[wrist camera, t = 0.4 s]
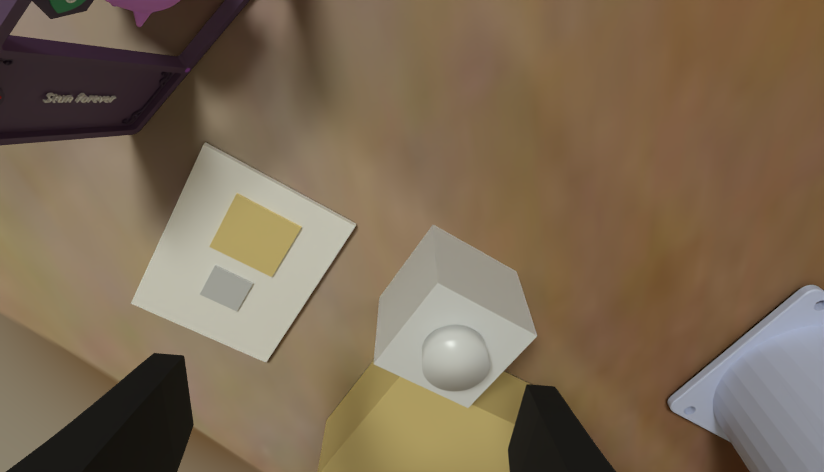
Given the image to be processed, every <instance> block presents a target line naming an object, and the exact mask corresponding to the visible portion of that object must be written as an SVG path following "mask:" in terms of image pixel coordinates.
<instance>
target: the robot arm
mask: <svg viewBox="0 0 824 472" xmlns="http://www.w3.org/2000/svg"><path fill="white" fill-rule="evenodd" d="M817 302H819V303H817ZM816 303H817V304H816ZM667 403H668V406H669V407H670V409H671V410H672V411H673V412H674V413H676V414H678V415H680V416H682V417H684V418H685V419H687V420H689V421H691V422H693V423H695V424H697V425H699V426H701V427H702V428H704V429H706V430H708V431H710V432H712V433H714V434H716V435H718V436H720V437H721V438H723V439H725V440H727V441H729V442H731V443H732V445H733V446H734V448H735V450H736V451H737V453H738V454H739V456H740V457H741V459H742V460H743V462H744V463H745V465H746V466H747V468H748V470H749V471H750V472H824V290H822V289H821V288H819V287H818V286H815V285H807V286H804V287H802V288H801V289H799V290H798V291H797V292H795V293H794V294H793V295H792V296H791V297H789V298H788V299H787V300H786V301H785V302H783V303H782V304H781V305H780V306H779V307H777V308H776V309H775V310H774V311H773V312H771V313H770V314H769V315H768V316H767V317H765V318H764V319H763V320H762V321H761V322H759V323H758V324H757V325H756V326H755V327H753V328H752V329H751V330H750V331H749V332H747V333H746V334H745V335H744V336H743V337H741V338H740V339H739V340H738V341H737V342H735V343H734V344H733V345H732V346H731V347H729V348H728V349H727V350H726V351H725V352H723V353H722V354H721V355H720V356H718V357H717V358H716V359H715V360H714V361H712V362H711V363H710V364H709V365H708V366H706V367H705V368H704V369H703V370H702V371H700V372H699V373H698V374H697V375H696V376H694V377H693V378H692V379H691V380H690V381H688V382H687V383H686V384H685V385H684V386H682V387H681V388H680V389H679V390H678V391H676V392H675V393H674V394H673V395H672V396H671V397H670V398H669V399H668V402H667ZM192 428H193V417H192V410H191V403H190V396H189V388H188V381H187V374H186V366H185V359H184V356H182V355H171V354H159V353H154V354H153V355H151V356H150V357H149V358H147V359H146V360H145V361H144V362H143V363H141V364H140V365H139V366H138V367H137V368H135V369H134V370H133V371H132V372H131V373H129V374H128V375H127V376H126V377H125V378H124V379H122V380H121V381H120V382H119V383H118V384H116V385H115V386H114V387H113V388H112V389H111V390H109V391H108V392H107V393H106V394H105V395H103V396H102V397H101V398H100V399H99V400H98V401H96V402H95V403H94V404H93V405H91V406H90V407H89V408H88V409H86V410H85V411H84V412H83V413H81V414H80V415H79V416H78V417H77V418H76V419H74V420H73V421H72V422H71V423H69V424H68V425H67V426H65V427H64V428H63V429H62V430H60V431H59V432H58V433H57V434H55V435H54V436H53V437H52V438H50V439H49V440H48V441H46V442H45V443H44V444H42V445H41V446H40V447H38V448H37V449H36V450H34V451H33V452H32V453H31V454H29V455H28V456H26V457H25V458H24V459H22V460H21V461H20V462H18V463H17V464H16V465H14V466H13V467H12V468H10V469H9V470H8V471H6V472H177V471H178V468H179V465H180V462H181V459H182V457H183V454H184V451H185V448H186V445H187V443H188V440H189V437H190V434H191V431H192ZM508 458H509V469H510V472H616V471H615V470H614V468H613V467H612V466H611V465H610V463H609V462H608V461H607V459H606V458H605V457H604V455H603V454H602V453H601V451H600V450H599V448H598V447H597V446H596V444H595V443H594V442H593V440H592V439H591V437H590V436H589V435H588V433H587V432H586V430H585V429H584V428H583V426H582V425H581V423H580V422H579V420H578V419H577V418H576V416H575V415H574V413H573V412H572V410H571V409H570V407H569V406H568V405H567V403H566V402H565V400H564V399H563V397H562V396H561V395H560V393H559V392H558V390H557V389H556V388H555V387H553V386H541V385H529V384H526V388H525V391H524V394H523V398H522V401H521V405H520V408H519V412H518V415H517V419H516V422H515V426H514V429H513V433H512V436H511V439H510V443H509V446H508Z"/></svg>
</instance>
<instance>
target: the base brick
mask: <svg viewBox="0 0 824 472" xmlns="http://www.w3.org/2000/svg"><path fill="white" fill-rule="evenodd" d="M526 384H529V383H527V382H525V381H523V380H521V379H519V378H517V377H515V376H513V375H511V374H509V373H507V372H505V371H503V372H502V373H501V374H500V375H499V376H498V377H497V379H496V380H495V381H494V382H493V383H492V384H491V385H490V386H489V387H488V388H487V389H486V390H485V391H484V392H483V393H482V394H481V395H480V396H479V397H478V398H477V399H476V400H475V401H474V403H473V404H472V405H471V406H470V407H469V408H467V407H465V406H462V405H460V404H458V403H456V402H454V401H452V400H449V399H447V398H445V397H443V396H441V395H439V394H437V393H434V392H432V391H430V390H428V389H426V388H424V387H422V386H419V385H417V384H415V383H413V382H411V381H409V380H406V379H404V378H402V377H400V376H398V375H396V374H394V373H391V372H389V371H387V370H385V369H383V368H381V367H378V366H376V365H374V360H373V362H372V363H371V364H370V366H369V367H368V368H367V369H366V371H365V372H364V373H363V375H362V376H361V377H360V378H359V380H358V381H357V382H356V383H355V385H354V386H353V387H352V389H351V390H350V391H349V392H348V394H347V395H346V396H345V397H344V399H343V400H342V401H341V403H340V404H339V405H338V406H337V408H336V409H335V410H334V411H333V413H332V414H331V415H330V417H329V418H328V419H327V421H326V427H325V432H324V438H323V444H322V449H321V455H320V461H319V466H318V472H510V469H509V458H508V446H509V443H510V439H511V436H512V433H513V429H514V426H515V422H516V419H517V415H518V412H519V408H520V405H521V401H522V398H523V394H524V391H525V388H526ZM529 385H531V384H529Z"/></svg>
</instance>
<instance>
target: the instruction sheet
mask: <svg viewBox="0 0 824 472" xmlns="http://www.w3.org/2000/svg"><path fill="white" fill-rule="evenodd" d="M355 226H356V223H354V222H352V221H350V220H349V219H347V218H345V217H343V216H341V215H339V214H337V213H336V212H334V211H332V210H330V209H328V208H326V207H324V206H323V205H321V204H319V203H317V202H315V201H313V200H311V199H310V198H308V197H306V196H304V195H302V194H300V193H298V192H297V191H295V190H293V189H291V188H289V187H287V186H286V185H284V184H282V183H280V182H278V181H276V180H274V179H273V178H271V177H269V176H267V175H265V174H263V173H261V172H260V171H258V170H256V169H254V168H252V167H250V166H248V165H247V164H245V163H243V162H241V161H239V160H237V159H236V158H234V157H232V156H230V155H228V154H226V153H224V152H223V151H221V150H219V149H217V148H215V147H213V146H211V145H210V144H208V143H206V142H205V143H204V145H203V147H202V149H201V151H200V153H199V155H198V158H197V160H196V162H195V164H194V166H193V169H192V171H191V173H190V175H189V177H188V180H187V182H186V184H185V186H184V188H183V191H182V193H181V195H180V197H179V199H178V202H177V204H176V206H175V208H174V210H173V212H172V215H171V217H170V219H169V221H168V223H167V226H166V228H165V230H164V232H163V234H162V237H161V239H160V241H159V243H158V245H157V248H156V250H155V252H154V254H153V256H152V259H151V261H150V263H149V265H148V267H147V270H146V272H145V274H144V276H143V278H142V280H141V283H140V285H139V287H138V289H137V291H136V294H135V296H134V298H133V300H132V302H131V304H133V305H136V306H138V307H140V308H142V309H145V310H147V311H149V312H152V313H154V314H156V315H158V316H161V317H163V318H165V319H168V320H170V321H172V322H174V323H177V324H179V325H181V326H184V327H186V328H188V329H190V330H193V331H195V332H197V333H200V334H202V335H204V336H206V337H209V338H211V339H213V340H216V341H218V342H220V343H222V344H225V345H227V346H229V347H232V348H234V349H236V350H238V351H241V352H243V353H245V354H248V355H250V356H252V357H254V358H257V359H259V360H261V361H264V362H267V361H268V359H269V358H270V356H271V355H272V353H273V351H274V350H275V348H276V347H277V345H278V344H279V342H280V341H281V339H282V338H283V336H284V335H285V333H286V332H287V330H288V329H289V327H290V326H291V324H292V322H293V321H294V319H295V318H296V316H297V315H298V313H299V312H300V310H301V309H302V307H303V306H304V304H305V303H306V301H307V300H308V298H309V297H310V295H311V293H312V292H313V290H314V289H315V287H316V286H317V284H318V283H319V281H320V280H321V278H322V277H323V275H324V274H325V272H326V271H327V269H328V268H329V266H330V265H331V263H332V261H333V260H334V258H335V257H336V255H337V254H338V252H339V251H340V249H341V248H342V246H343V245H344V243H345V242H346V240H347V239H348V237H349V236H350V234H351V232H352V231H353V229H354V228H355Z"/></svg>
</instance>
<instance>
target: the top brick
mask: <svg viewBox="0 0 824 472" xmlns="http://www.w3.org/2000/svg"><path fill="white" fill-rule="evenodd" d="M536 337H537V333H536V330H535V327H534V324H533V321H532V318H531V315H530V312H529V309H528V306H527V302H526V299H525V296H524V293H523V290H522V287H521V284H520V281H519V278H518V275H517V272H516V271H515V270H513V269H511V268H509V267H508V266H506V265H504V264H502V263H500V262H499V261H497V260H495V259H493V258H492V257H490V256H488V255H486V254H485V253H483V252H481V251H479V250H477V249H476V248H474V247H472V246H470V245H469V244H467V243H465V242H463V241H461V240H460V239H458V238H456V237H454V236H453V235H451V234H449V233H447V232H445V231H444V230H442V229H440V228H438V227H437V226H435V225H432V227H431V228H430V229H429V231H428V232H427V233H426V235H425V236H424V237H423V239H422V240H421V242H420V243H419V244H418V246H417V247H416V248H415V250H414V251H413V252H412V254H411V255H410V257H409V258H408V259H407V261H406V262H405V263H404V265H403V266H402V267H401V269H400V270H399V271H398V273H397V274H396V276H395V277H394V278H393V280H392V281H391V282H390V284H389V285H388V286H387V288H386V289H385V291H384V292H383V293H382V295H381V296H380V298H379V309H378V320H377V331H376V342H375V353H374V365H376V366H378V367H381V368H383V369H385V370H387V371H389V372H391V373H394V374H396V375H398V376H400V377H402V378H404V379H406V380H409V381H411V382H413V383H415V384H417V385H419V386H422V387H424V388H426V389H428V390H430V391H432V392H434V393H437V394H439V395H441V396H443V397H445V398H447V399H449V400H452V401H454V402H456V403H458V404H460V405H462V406H465V407H467V408H469V407H470V406H471V405H472V404H473V403H474V401H475V400H476V399H477V398H478V397H479V396H480V395H481V394H482V393H483V392H484V391H485V390H486V389H487V388H488V387H489V386H490V385H491V384H492V383H493V382H494V381H495V380H496V379H497V377H498V376H499V375H500V374H501V373H502V372H503V371H504V370H505V369H506V368H507V367H508V366H509V365H510V364H511V363H512V362H513V361H514V360H515V359H516V358H517V357H518V356H519V354H520V353H521V352H522V351H523V350H524V349H525V348H526V347H527V346H528V345H529V344H530V343H531V342H532V341H533V340H534V339H535V338H536Z"/></svg>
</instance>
